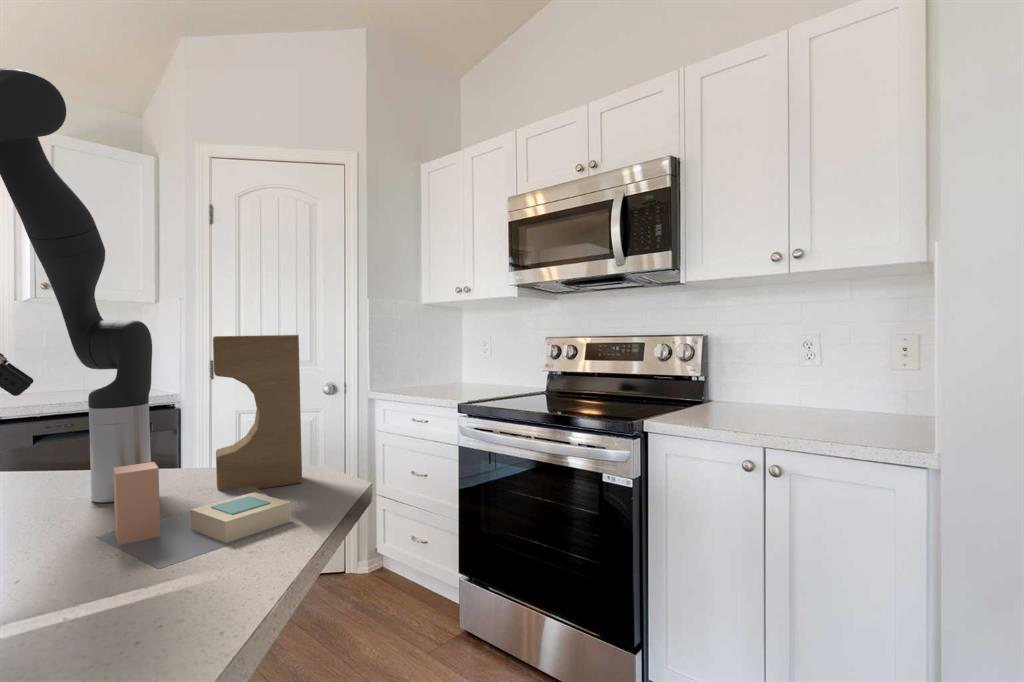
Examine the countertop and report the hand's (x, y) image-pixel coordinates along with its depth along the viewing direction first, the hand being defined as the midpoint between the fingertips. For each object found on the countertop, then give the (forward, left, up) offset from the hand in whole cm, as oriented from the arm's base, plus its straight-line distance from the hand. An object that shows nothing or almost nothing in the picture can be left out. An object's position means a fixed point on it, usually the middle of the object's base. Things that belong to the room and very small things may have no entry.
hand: (26, 388), depth 71 cm
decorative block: (-10, +38, -24) cm, 46 cm away
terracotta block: (+3, +11, -23) cm, 25 cm away
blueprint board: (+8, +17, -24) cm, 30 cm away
